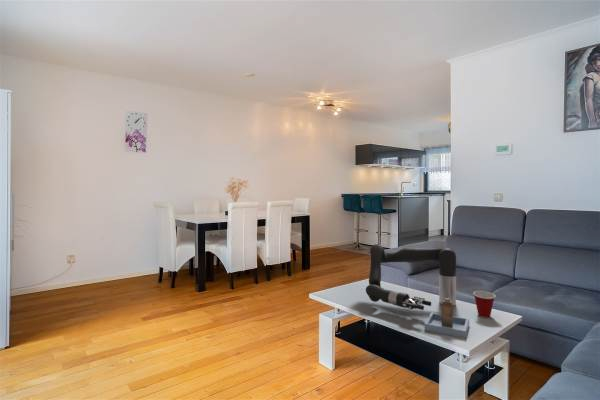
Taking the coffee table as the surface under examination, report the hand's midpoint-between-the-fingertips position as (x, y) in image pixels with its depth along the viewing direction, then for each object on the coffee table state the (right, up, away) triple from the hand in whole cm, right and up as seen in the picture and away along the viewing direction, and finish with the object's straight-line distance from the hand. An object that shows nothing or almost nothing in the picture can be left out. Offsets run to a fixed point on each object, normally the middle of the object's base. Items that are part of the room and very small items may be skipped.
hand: (427, 305), depth 173 cm
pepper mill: (+7, -8, -7) cm, 13 cm away
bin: (+7, -8, -7) cm, 13 cm away
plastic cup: (+34, -8, +9) cm, 36 cm away
